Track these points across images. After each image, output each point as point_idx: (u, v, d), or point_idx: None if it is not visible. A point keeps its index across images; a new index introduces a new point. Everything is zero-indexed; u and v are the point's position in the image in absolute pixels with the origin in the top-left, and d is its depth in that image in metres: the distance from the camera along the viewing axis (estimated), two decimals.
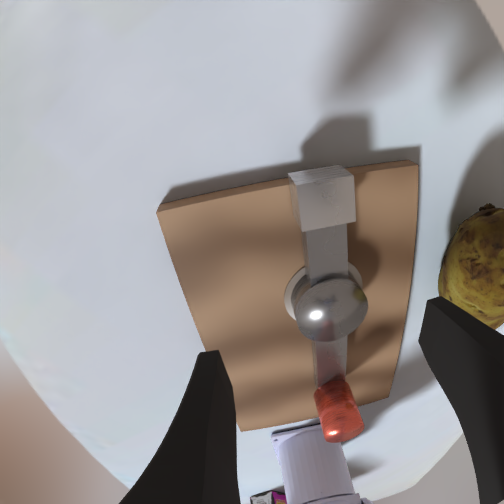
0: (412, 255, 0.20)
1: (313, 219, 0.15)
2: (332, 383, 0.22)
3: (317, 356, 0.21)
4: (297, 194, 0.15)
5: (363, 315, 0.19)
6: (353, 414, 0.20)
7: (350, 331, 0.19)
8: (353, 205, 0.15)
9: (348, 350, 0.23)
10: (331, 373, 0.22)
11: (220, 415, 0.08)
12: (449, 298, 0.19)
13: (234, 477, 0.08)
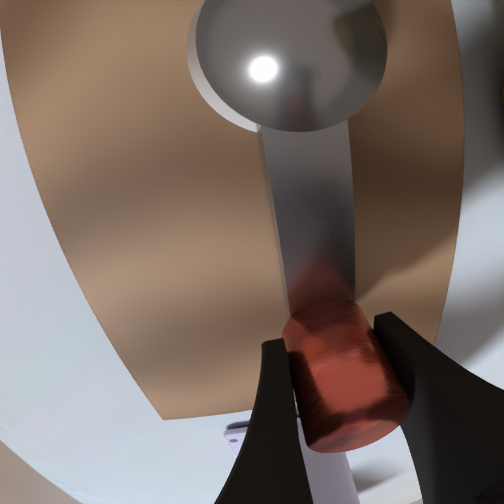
0: (451, 16, 0.07)
1: None
2: (324, 302, 0.10)
3: (277, 204, 0.08)
4: None
5: (380, 61, 0.06)
6: (383, 374, 0.07)
7: (354, 107, 0.07)
8: None
9: (356, 230, 0.11)
10: (320, 271, 0.10)
11: None
12: None
13: None
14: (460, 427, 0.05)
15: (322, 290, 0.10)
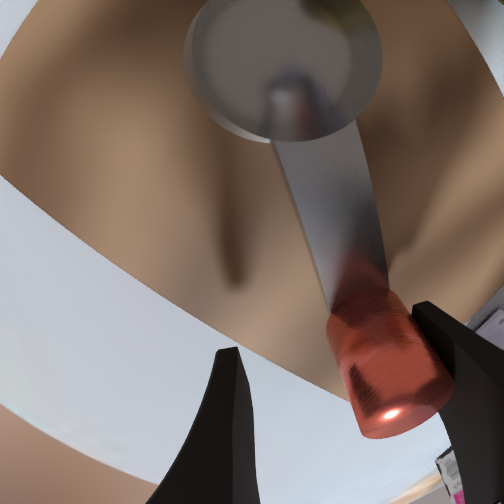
0: None
1: None
2: (361, 295, 0.10)
3: (301, 211, 0.09)
4: None
5: (376, 56, 0.06)
6: (425, 357, 0.07)
7: (359, 106, 0.07)
8: None
9: (433, 162, 0.10)
10: (352, 266, 0.10)
11: (241, 412, 0.08)
12: None
13: (254, 475, 0.08)
14: None
15: (357, 283, 0.10)
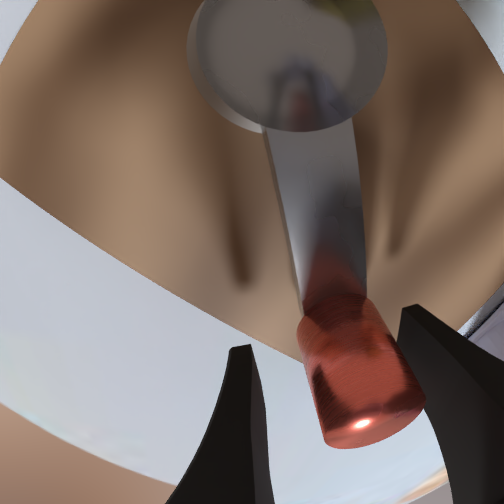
0: None
1: None
2: (337, 299, 0.10)
3: (286, 204, 0.08)
4: None
5: (380, 57, 0.06)
6: (398, 368, 0.07)
7: (358, 104, 0.07)
8: None
9: (442, 147, 0.10)
10: (331, 269, 0.10)
11: (256, 410, 0.08)
12: None
13: (268, 473, 0.08)
14: (494, 409, 0.05)
15: (334, 287, 0.10)
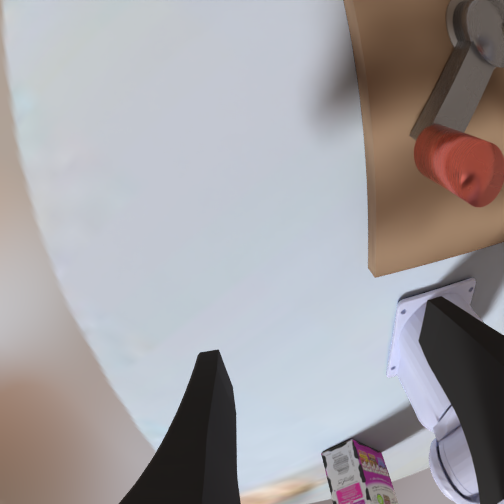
0: None
1: None
2: None
3: (461, 69, 0.12)
4: None
5: None
6: None
7: (502, 65, 0.11)
8: None
9: (500, 126, 0.15)
10: (455, 113, 0.13)
11: (220, 415, 0.08)
12: None
13: (234, 477, 0.08)
14: None
15: (451, 124, 0.14)
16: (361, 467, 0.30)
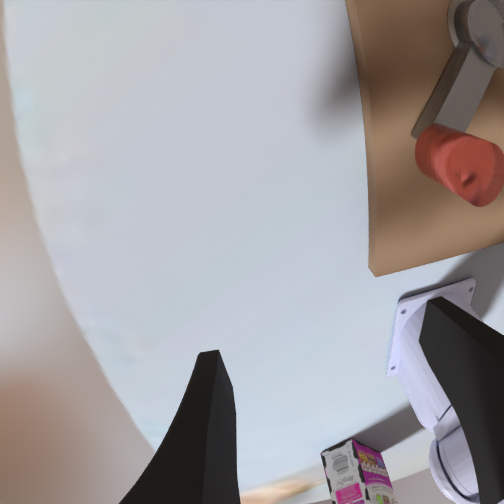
0: None
1: None
2: None
3: (462, 69, 0.12)
4: None
5: None
6: None
7: (503, 65, 0.11)
8: None
9: (500, 126, 0.15)
10: (456, 113, 0.13)
11: (220, 415, 0.08)
12: None
13: (234, 477, 0.08)
14: None
15: (452, 124, 0.14)
16: (361, 468, 0.30)
